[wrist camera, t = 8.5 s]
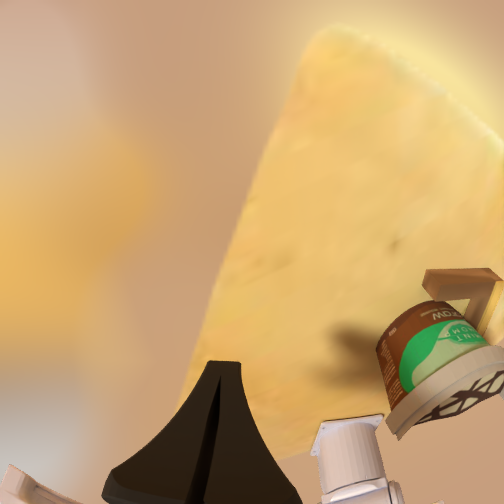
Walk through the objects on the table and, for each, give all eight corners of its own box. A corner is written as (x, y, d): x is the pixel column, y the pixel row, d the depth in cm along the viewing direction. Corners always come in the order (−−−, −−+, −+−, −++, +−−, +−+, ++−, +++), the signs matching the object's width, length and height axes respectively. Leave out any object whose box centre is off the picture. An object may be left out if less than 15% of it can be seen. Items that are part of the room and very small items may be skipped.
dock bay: (449, 361, 25) (459, 378, 23) (390, 372, 25) (398, 392, 23) (488, 268, 20) (505, 282, 18) (426, 269, 20) (442, 286, 18)
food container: (480, 281, 21) (540, 345, 12) (463, 332, 24) (507, 398, 14) (371, 296, 22) (420, 391, 12) (361, 351, 24) (391, 442, 15)
